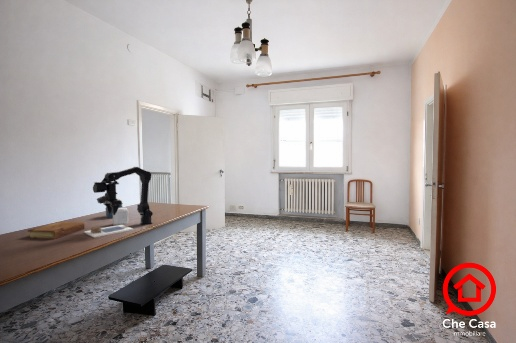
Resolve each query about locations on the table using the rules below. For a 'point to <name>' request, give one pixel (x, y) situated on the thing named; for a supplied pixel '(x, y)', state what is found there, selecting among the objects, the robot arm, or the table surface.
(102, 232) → the blueprint board
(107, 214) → the canister
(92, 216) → the table surface
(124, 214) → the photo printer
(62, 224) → the diary
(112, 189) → the robot arm
